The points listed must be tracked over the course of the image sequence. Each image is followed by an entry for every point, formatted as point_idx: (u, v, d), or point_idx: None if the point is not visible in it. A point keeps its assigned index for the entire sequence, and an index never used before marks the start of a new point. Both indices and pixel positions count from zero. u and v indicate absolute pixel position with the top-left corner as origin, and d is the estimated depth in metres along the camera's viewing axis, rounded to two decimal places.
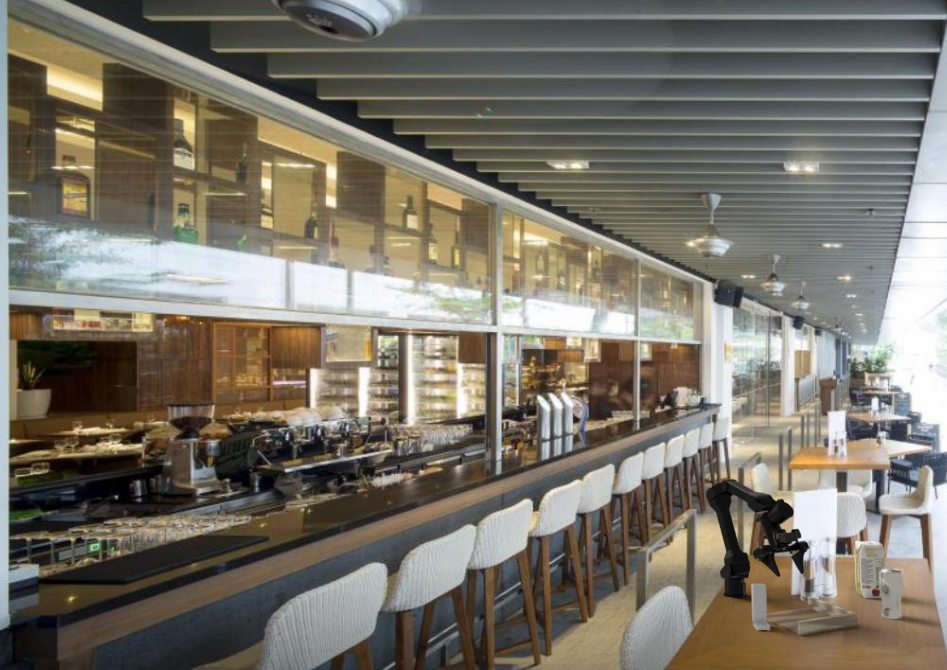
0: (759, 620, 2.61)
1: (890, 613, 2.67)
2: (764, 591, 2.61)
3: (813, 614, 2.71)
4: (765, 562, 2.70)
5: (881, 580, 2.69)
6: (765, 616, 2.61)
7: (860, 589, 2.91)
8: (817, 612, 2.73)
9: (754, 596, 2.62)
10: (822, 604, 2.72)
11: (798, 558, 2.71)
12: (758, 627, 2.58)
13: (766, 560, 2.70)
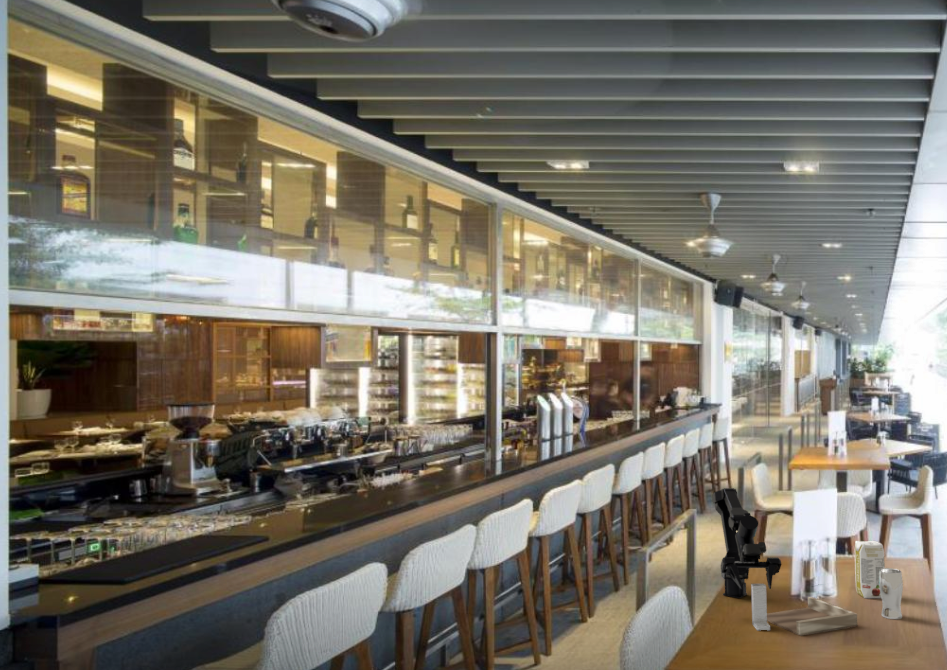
0: (759, 620, 2.61)
1: (890, 613, 2.67)
2: (764, 591, 2.61)
3: (813, 614, 2.71)
4: (731, 575, 2.72)
5: (881, 580, 2.69)
6: (765, 616, 2.61)
7: (860, 589, 2.91)
8: (817, 612, 2.73)
9: (754, 596, 2.62)
10: (822, 604, 2.72)
11: (768, 573, 2.69)
12: (758, 627, 2.58)
13: (732, 573, 2.72)
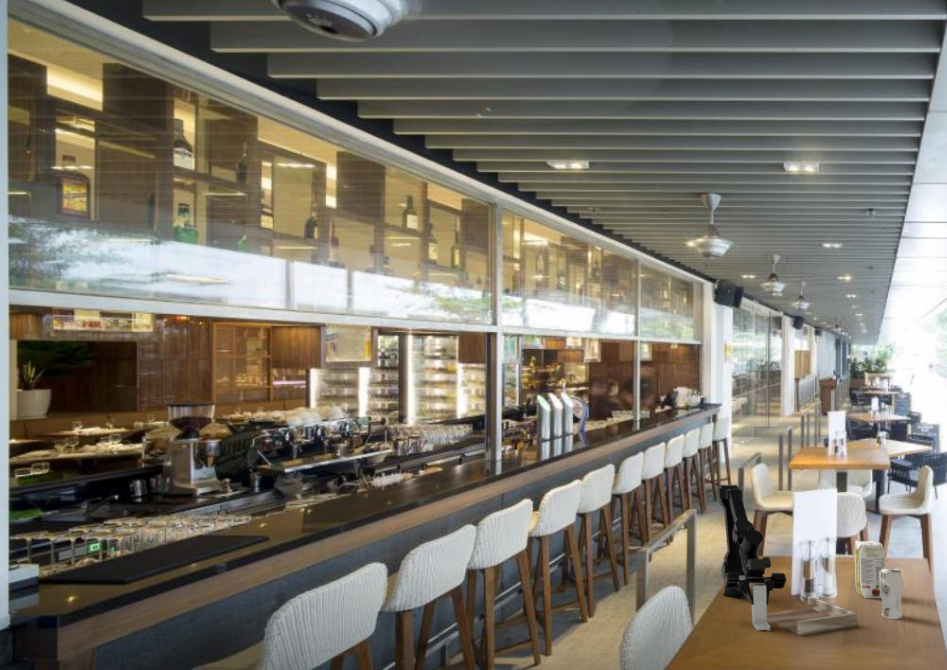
0: (759, 620, 2.61)
1: (890, 613, 2.67)
2: (764, 591, 2.61)
3: (813, 614, 2.71)
4: (743, 591, 2.67)
5: (881, 580, 2.69)
6: (765, 616, 2.61)
7: (860, 589, 2.91)
8: (817, 612, 2.73)
9: (754, 596, 2.62)
10: (822, 604, 2.72)
11: None
12: (758, 627, 2.58)
13: (744, 589, 2.67)
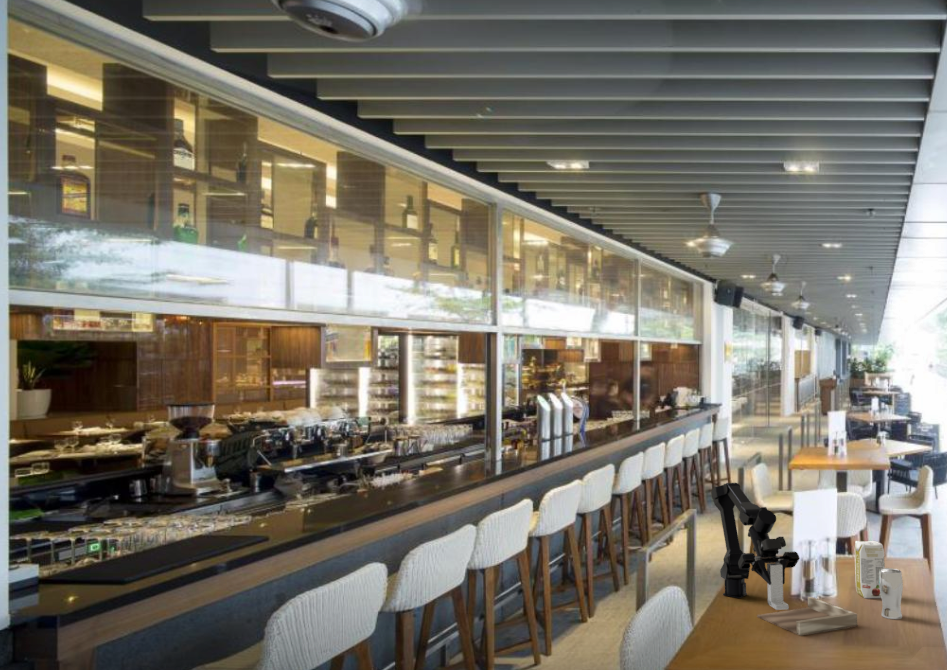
0: (776, 599, 2.62)
1: (890, 613, 2.67)
2: (780, 570, 2.62)
3: (813, 614, 2.71)
4: (758, 571, 2.66)
5: (881, 580, 2.69)
6: (781, 595, 2.62)
7: (860, 589, 2.91)
8: (817, 612, 2.73)
9: (771, 576, 2.62)
10: (822, 604, 2.72)
11: None
12: (777, 606, 2.58)
13: (758, 569, 2.66)
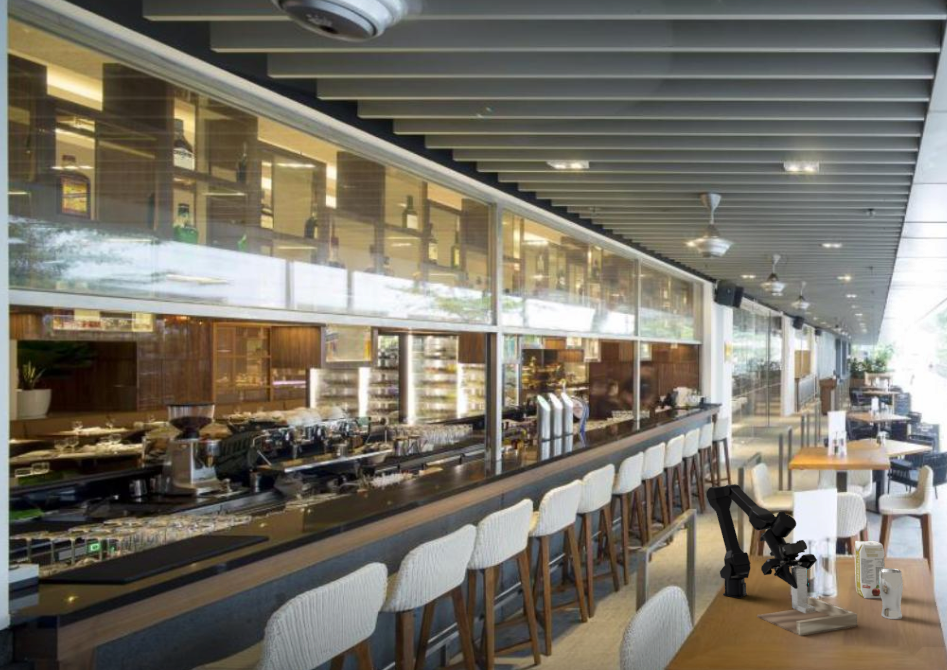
0: (801, 603, 2.64)
1: (890, 613, 2.67)
2: (805, 573, 2.65)
3: (813, 614, 2.71)
4: (781, 576, 2.67)
5: (881, 580, 2.69)
6: (806, 598, 2.64)
7: (860, 589, 2.91)
8: (817, 612, 2.73)
9: (797, 580, 2.64)
10: (822, 604, 2.72)
11: None
12: (806, 610, 2.60)
13: (781, 574, 2.67)
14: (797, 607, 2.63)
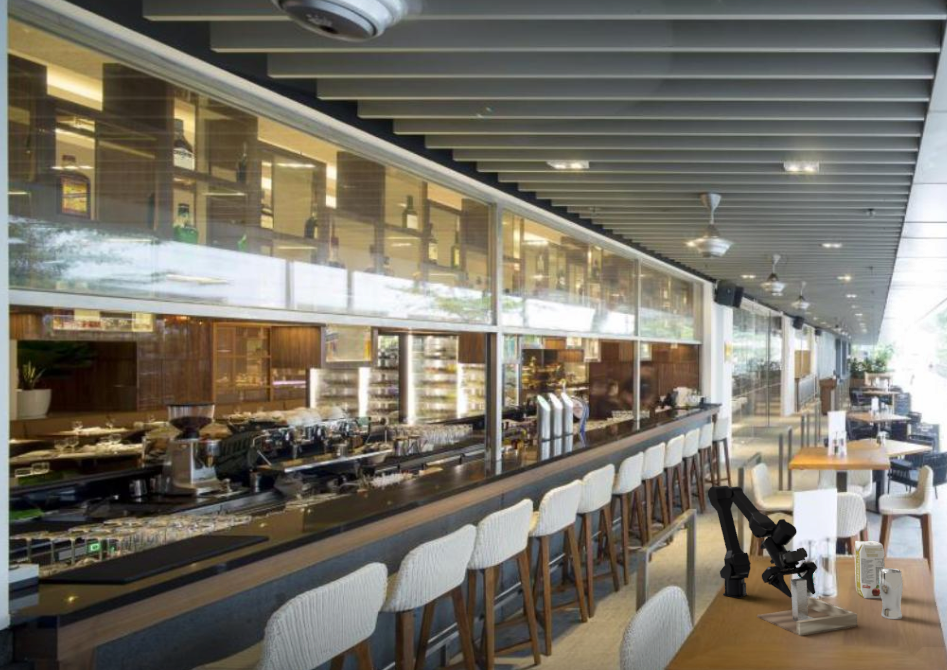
0: (802, 615, 2.64)
1: (890, 613, 2.67)
2: (805, 585, 2.65)
3: (813, 614, 2.71)
4: (775, 584, 2.66)
5: (881, 580, 2.69)
6: (806, 610, 2.64)
7: (860, 589, 2.91)
8: (817, 612, 2.73)
9: (797, 591, 2.64)
10: (822, 604, 2.72)
11: (807, 578, 2.68)
12: None
13: (776, 582, 2.67)
14: (797, 619, 2.63)
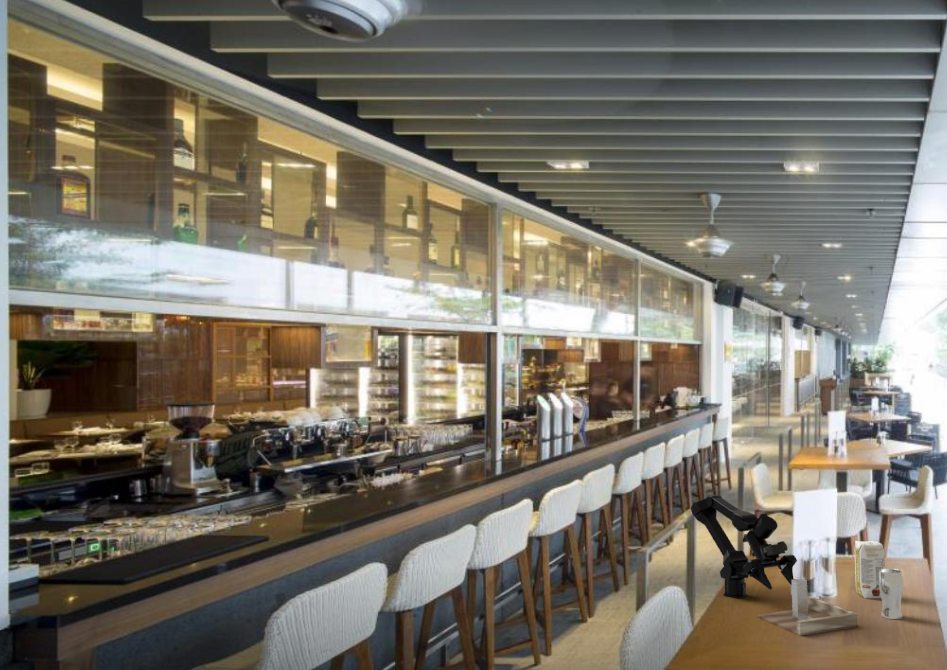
0: (802, 615, 2.64)
1: (890, 613, 2.67)
2: (805, 586, 2.64)
3: (813, 614, 2.71)
4: (756, 577, 2.75)
5: (881, 580, 2.69)
6: (806, 610, 2.64)
7: (860, 589, 2.91)
8: (817, 612, 2.73)
9: (798, 592, 2.63)
10: (822, 604, 2.72)
11: (787, 571, 2.77)
12: None
13: (757, 575, 2.76)
14: (797, 619, 2.63)
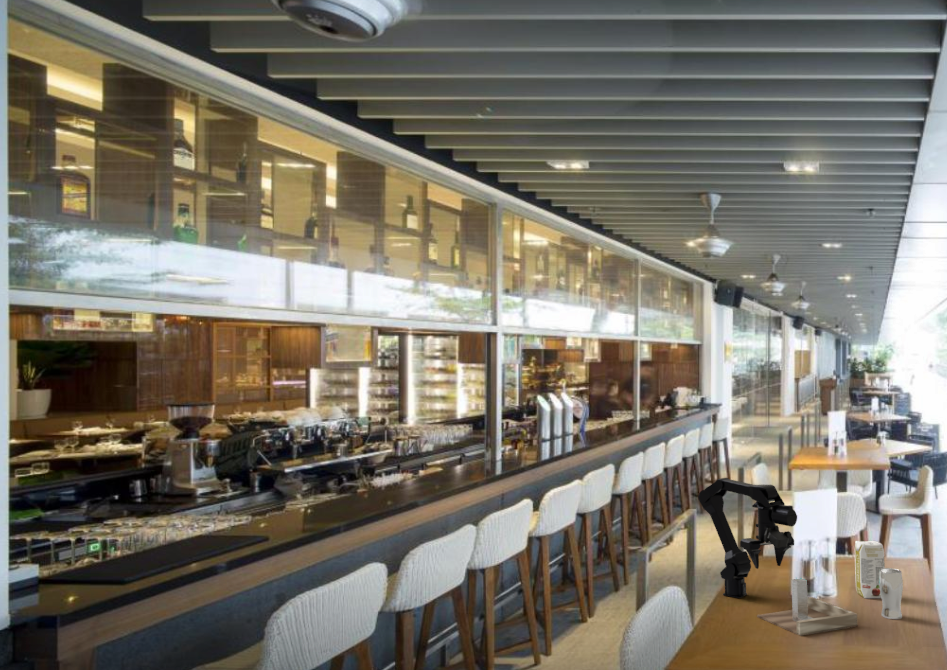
0: (802, 615, 2.64)
1: (890, 613, 2.67)
2: (805, 586, 2.64)
3: (813, 614, 2.71)
4: (749, 551, 2.84)
5: (881, 580, 2.69)
6: (806, 610, 2.64)
7: (860, 589, 2.91)
8: (817, 612, 2.73)
9: (798, 592, 2.63)
10: (822, 604, 2.72)
11: (780, 551, 2.85)
12: None
13: (750, 550, 2.83)
14: (797, 619, 2.63)
